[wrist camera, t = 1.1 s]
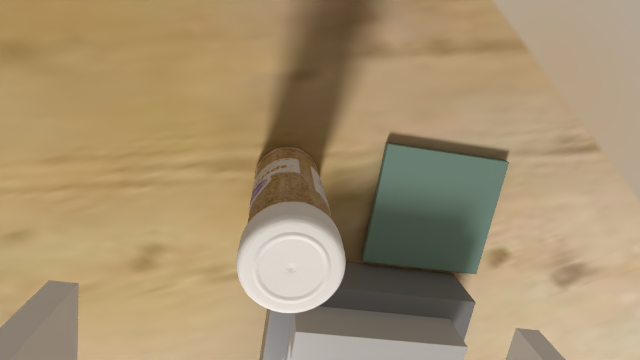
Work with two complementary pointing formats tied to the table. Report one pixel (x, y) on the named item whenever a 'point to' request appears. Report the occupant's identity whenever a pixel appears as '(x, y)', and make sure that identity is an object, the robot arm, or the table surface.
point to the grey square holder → (376, 319)
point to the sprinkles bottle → (289, 236)
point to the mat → (432, 208)
